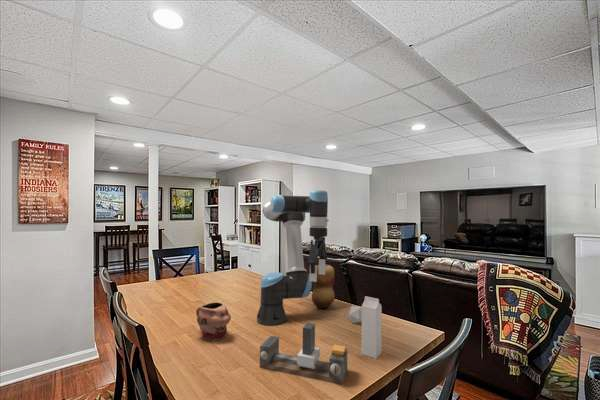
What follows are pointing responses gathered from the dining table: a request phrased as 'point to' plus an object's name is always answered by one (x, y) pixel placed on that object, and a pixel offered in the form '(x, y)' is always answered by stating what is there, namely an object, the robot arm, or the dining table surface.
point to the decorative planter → (213, 320)
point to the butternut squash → (324, 288)
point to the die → (355, 314)
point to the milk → (371, 327)
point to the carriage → (308, 348)
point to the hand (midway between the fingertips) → (317, 277)
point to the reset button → (338, 350)
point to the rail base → (288, 364)
